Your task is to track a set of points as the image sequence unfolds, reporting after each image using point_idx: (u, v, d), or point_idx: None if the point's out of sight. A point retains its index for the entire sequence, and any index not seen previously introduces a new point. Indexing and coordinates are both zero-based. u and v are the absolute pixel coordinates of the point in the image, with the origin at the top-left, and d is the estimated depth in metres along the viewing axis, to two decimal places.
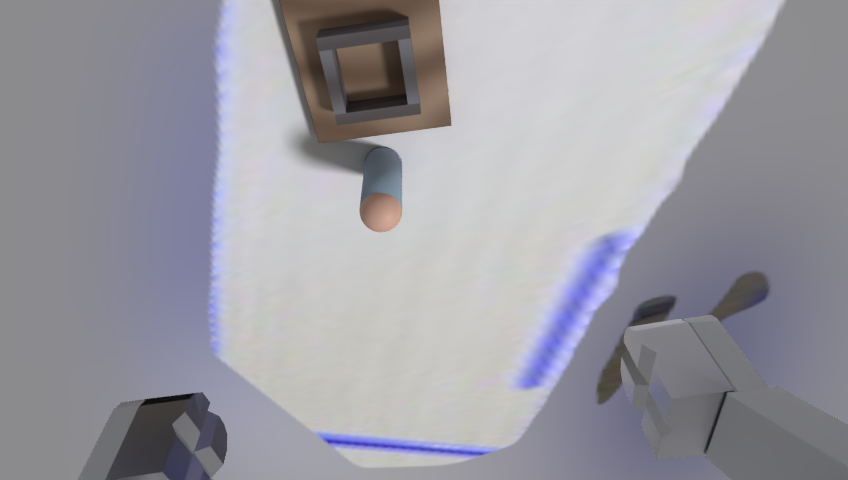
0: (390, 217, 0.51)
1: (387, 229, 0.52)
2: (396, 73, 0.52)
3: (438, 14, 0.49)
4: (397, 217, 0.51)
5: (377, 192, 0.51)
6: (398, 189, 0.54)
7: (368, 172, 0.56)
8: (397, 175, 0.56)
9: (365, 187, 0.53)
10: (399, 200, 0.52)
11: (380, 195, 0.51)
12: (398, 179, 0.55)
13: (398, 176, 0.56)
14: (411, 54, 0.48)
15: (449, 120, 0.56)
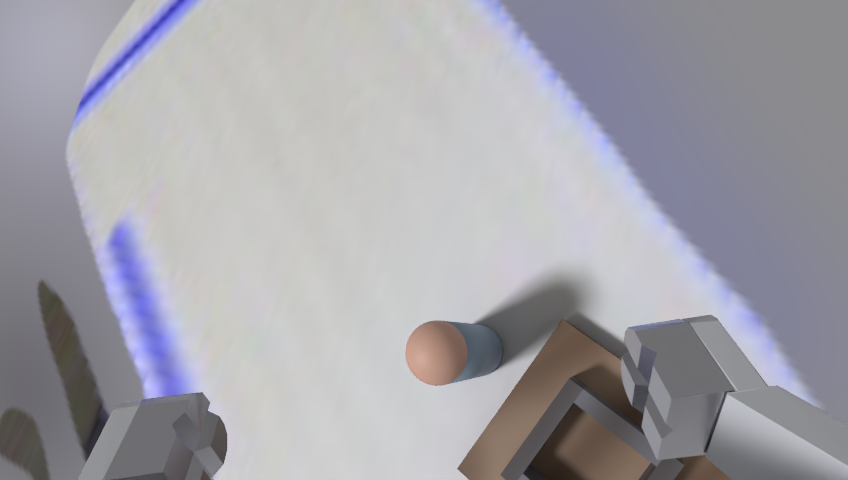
0: (420, 369, 0.33)
1: (410, 348, 0.34)
2: (561, 477, 0.38)
3: None
4: (414, 372, 0.34)
5: (461, 372, 0.34)
6: None
7: (487, 352, 0.39)
8: None
9: (477, 350, 0.36)
10: None
11: (456, 376, 0.34)
12: None
13: None
14: None
15: (464, 472, 0.41)
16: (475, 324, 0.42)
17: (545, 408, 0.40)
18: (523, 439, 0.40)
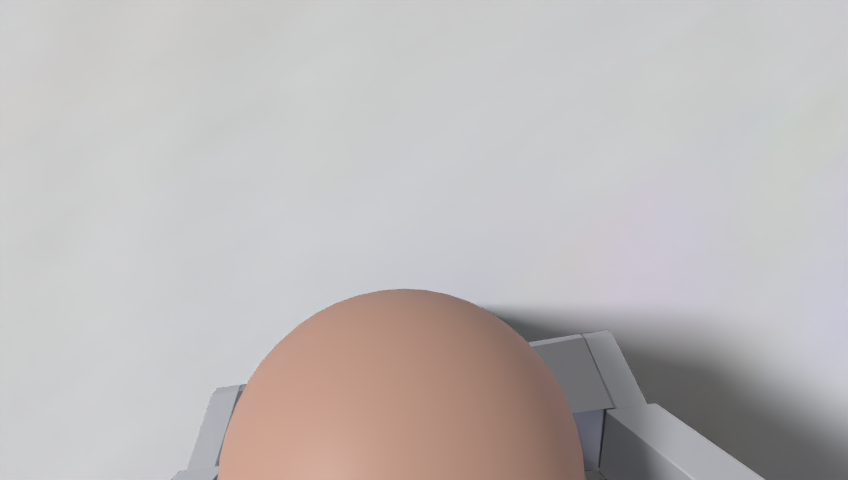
0: None
1: (302, 401, 0.05)
2: None
3: None
4: None
5: None
6: None
7: None
8: None
9: None
10: None
11: None
12: None
13: None
14: None
15: None
16: None
17: None
18: None
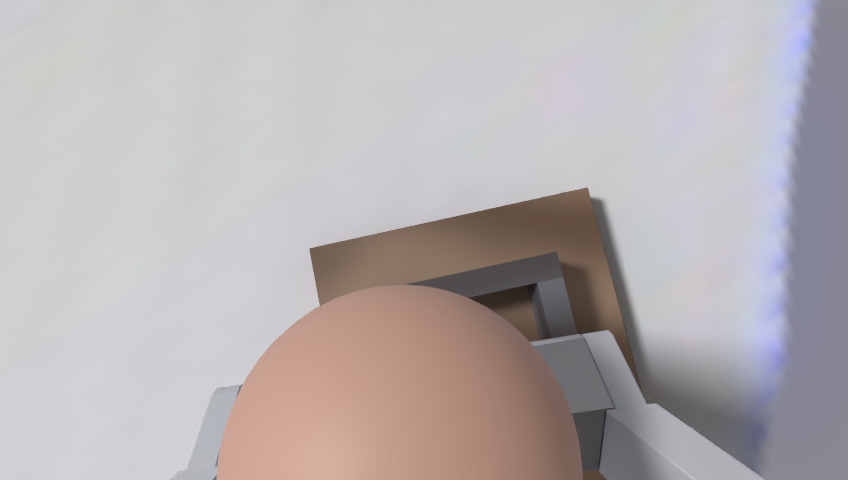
0: None
1: (301, 395, 0.05)
2: None
3: None
4: None
5: None
6: None
7: None
8: None
9: None
10: None
11: None
12: None
13: None
14: None
15: (314, 259, 0.27)
16: None
17: (478, 265, 0.26)
18: (421, 279, 0.26)
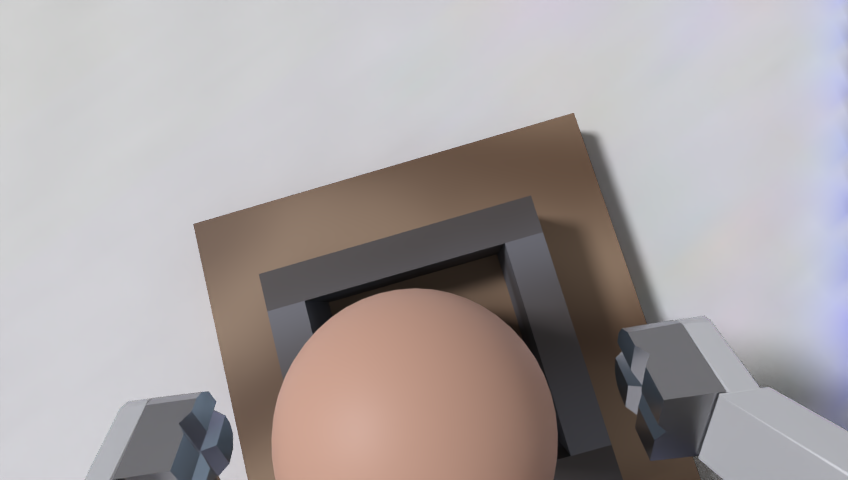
0: None
1: (343, 371, 0.07)
2: None
3: None
4: (281, 470, 0.07)
5: None
6: None
7: None
8: None
9: None
10: None
11: None
12: None
13: None
14: None
15: (200, 238, 0.19)
16: None
17: None
18: None
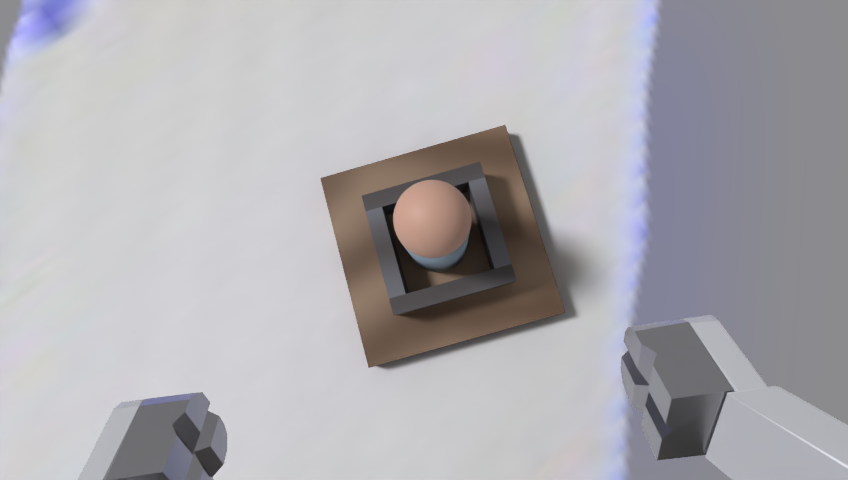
0: (412, 223, 0.26)
1: (415, 194, 0.27)
2: None
3: (359, 323, 0.38)
4: (399, 220, 0.27)
5: (442, 256, 0.28)
6: (406, 249, 0.31)
7: (461, 254, 0.33)
8: None
9: (464, 246, 0.30)
10: None
11: (436, 256, 0.28)
12: (409, 253, 0.33)
13: None
14: (385, 277, 0.35)
15: (324, 185, 0.39)
16: None
17: None
18: None
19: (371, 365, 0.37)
